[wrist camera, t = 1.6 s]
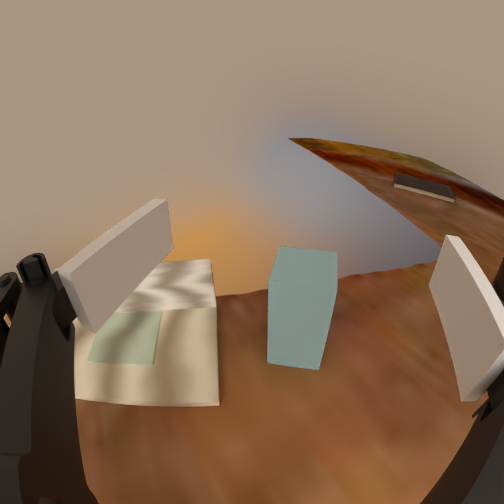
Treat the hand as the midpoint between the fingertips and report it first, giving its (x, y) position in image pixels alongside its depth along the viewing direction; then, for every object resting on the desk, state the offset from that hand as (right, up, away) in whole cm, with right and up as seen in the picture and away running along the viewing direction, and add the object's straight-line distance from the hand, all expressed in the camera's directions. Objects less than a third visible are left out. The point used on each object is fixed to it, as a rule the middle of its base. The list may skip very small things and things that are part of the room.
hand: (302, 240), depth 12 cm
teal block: (+3, -12, +20) cm, 24 cm away
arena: (-18, -13, +20) cm, 30 cm away
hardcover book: (+59, +21, +74) cm, 97 cm away
